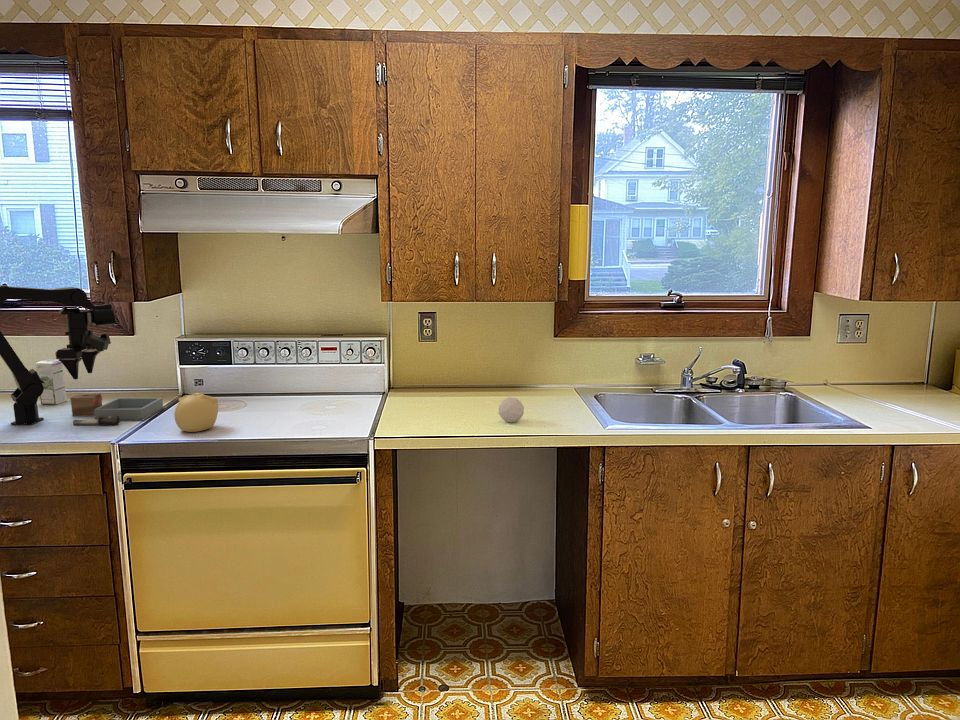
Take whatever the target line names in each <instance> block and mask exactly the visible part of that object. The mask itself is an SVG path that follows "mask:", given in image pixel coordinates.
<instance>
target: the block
mask: <svg viewBox="0 0 960 720" xmlns="http://www.w3.org/2000/svg"><path fill="white" fill-rule="evenodd" d="M102 405H103V396H102V393H78V394H75V395H73V396H71V397H70V406H71V414H72V415H71V416H73V417H74V416H75V417H77V416H78V417H81V416H83V417H84V416H85V417H88V416H89V417H90V416H91V417H95V415H94V409H96V408H98V407H100V406H102Z"/></svg>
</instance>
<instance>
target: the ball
mask: <svg viewBox="0 0 960 720" xmlns="http://www.w3.org/2000/svg"><path fill="white" fill-rule="evenodd" d="M524 412H525V406H524V405H523V403H522V402H521V401H520V400H519V399H518V398H517V397H509V396H508V397H506V398H505V399H503V400H502V401H501V402H500V404H499V405H498V415H499V417H500V418H501V420H503V421H504V422H506V423H512V424H514V423H516V422H518V421H520V420H521V419H522V417H523V416H524Z"/></svg>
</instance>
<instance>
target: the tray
mask: <svg viewBox="0 0 960 720" xmlns="http://www.w3.org/2000/svg"><path fill="white" fill-rule="evenodd" d="M163 409H164V402H163V397H117V398H115V399H113V400H110V401H109V402H107V403H104V404H102V406H100V407H98V408H96V409H94V415H95V416H94V420H98V419H99V417H100V416H118V417H119V421H144V420H146V419H148V418H149V417H151V416H152V415H155V414H156V413H158V412H159V411H161V410H163ZM145 418H146V419H145ZM143 419H144V420H143Z"/></svg>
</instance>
